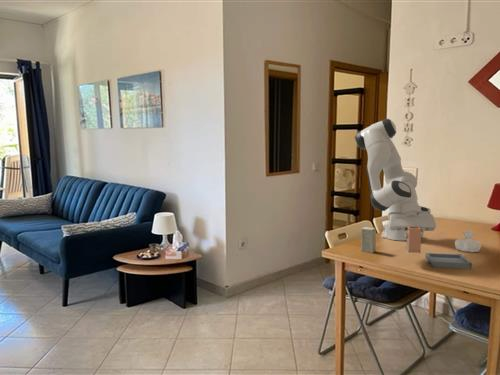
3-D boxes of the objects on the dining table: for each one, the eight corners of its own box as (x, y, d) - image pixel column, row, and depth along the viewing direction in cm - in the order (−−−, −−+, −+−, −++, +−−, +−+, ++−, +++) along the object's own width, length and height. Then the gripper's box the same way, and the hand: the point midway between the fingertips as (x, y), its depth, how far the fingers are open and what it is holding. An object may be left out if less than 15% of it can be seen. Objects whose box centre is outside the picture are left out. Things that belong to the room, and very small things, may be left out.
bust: (480, 256, 203) (481, 236, 208) (481, 250, 197) (482, 229, 202) (454, 253, 209) (455, 233, 214) (453, 247, 203) (455, 227, 208)
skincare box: (375, 251, 206) (376, 228, 205) (371, 253, 203) (372, 229, 202) (364, 249, 211) (364, 226, 209) (360, 251, 207) (360, 228, 206)
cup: (406, 249, 186) (407, 226, 185) (417, 249, 185) (418, 226, 184) (408, 252, 181) (409, 228, 180) (420, 252, 180) (421, 228, 179)
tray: (425, 257, 194) (425, 252, 194) (460, 259, 191) (461, 254, 191) (432, 267, 181) (433, 261, 180) (471, 268, 178) (471, 263, 177)
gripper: (387, 208, 190) (391, 233, 181) (433, 208, 186) (439, 234, 178) (386, 215, 195) (389, 240, 186) (431, 216, 191) (436, 241, 183)
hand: (414, 237), depth 182 cm, fingers closed on cup, 5 cm apart
